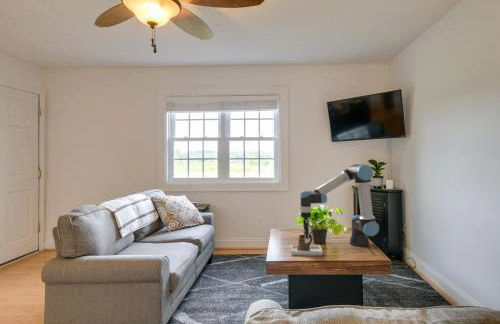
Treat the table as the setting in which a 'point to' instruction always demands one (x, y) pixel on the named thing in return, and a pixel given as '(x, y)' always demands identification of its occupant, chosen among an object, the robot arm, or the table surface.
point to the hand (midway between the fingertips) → (306, 240)
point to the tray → (314, 251)
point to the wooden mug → (302, 245)
